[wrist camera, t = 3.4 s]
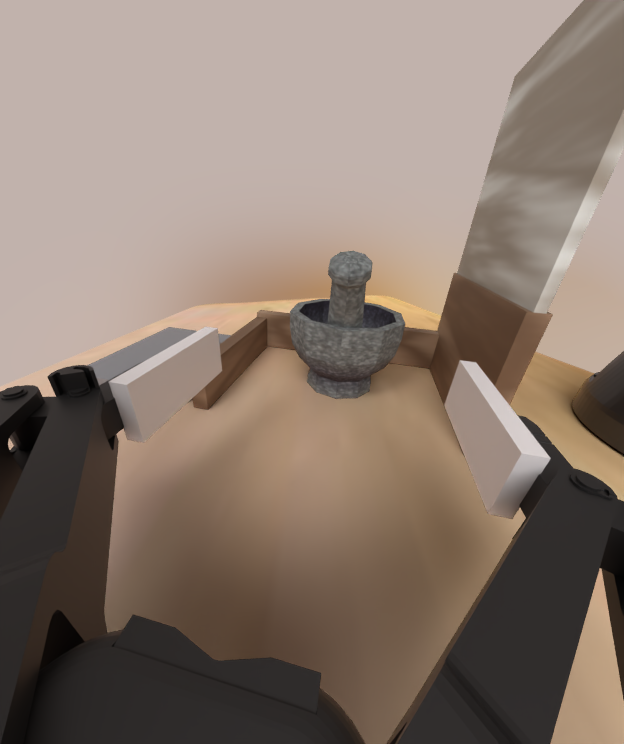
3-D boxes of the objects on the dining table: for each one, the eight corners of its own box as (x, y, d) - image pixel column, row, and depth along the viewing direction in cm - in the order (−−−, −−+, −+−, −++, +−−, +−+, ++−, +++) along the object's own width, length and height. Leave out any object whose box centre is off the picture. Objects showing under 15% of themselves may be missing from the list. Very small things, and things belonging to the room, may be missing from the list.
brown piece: (438, 365, 32) (528, 76, 20) (483, 459, 19) (799, -199, 7) (261, 341, 35) (254, 79, 24) (193, 407, 22) (106, -108, 11)
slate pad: (251, 344, 34) (251, 338, 33) (188, 401, 22) (186, 393, 22) (170, 333, 35) (169, 327, 35) (73, 381, 24) (70, 373, 24)
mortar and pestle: (302, 355, 32) (308, 240, 26) (384, 366, 31) (408, 248, 25) (273, 411, 22) (272, 246, 16) (392, 430, 21) (436, 259, 15)
